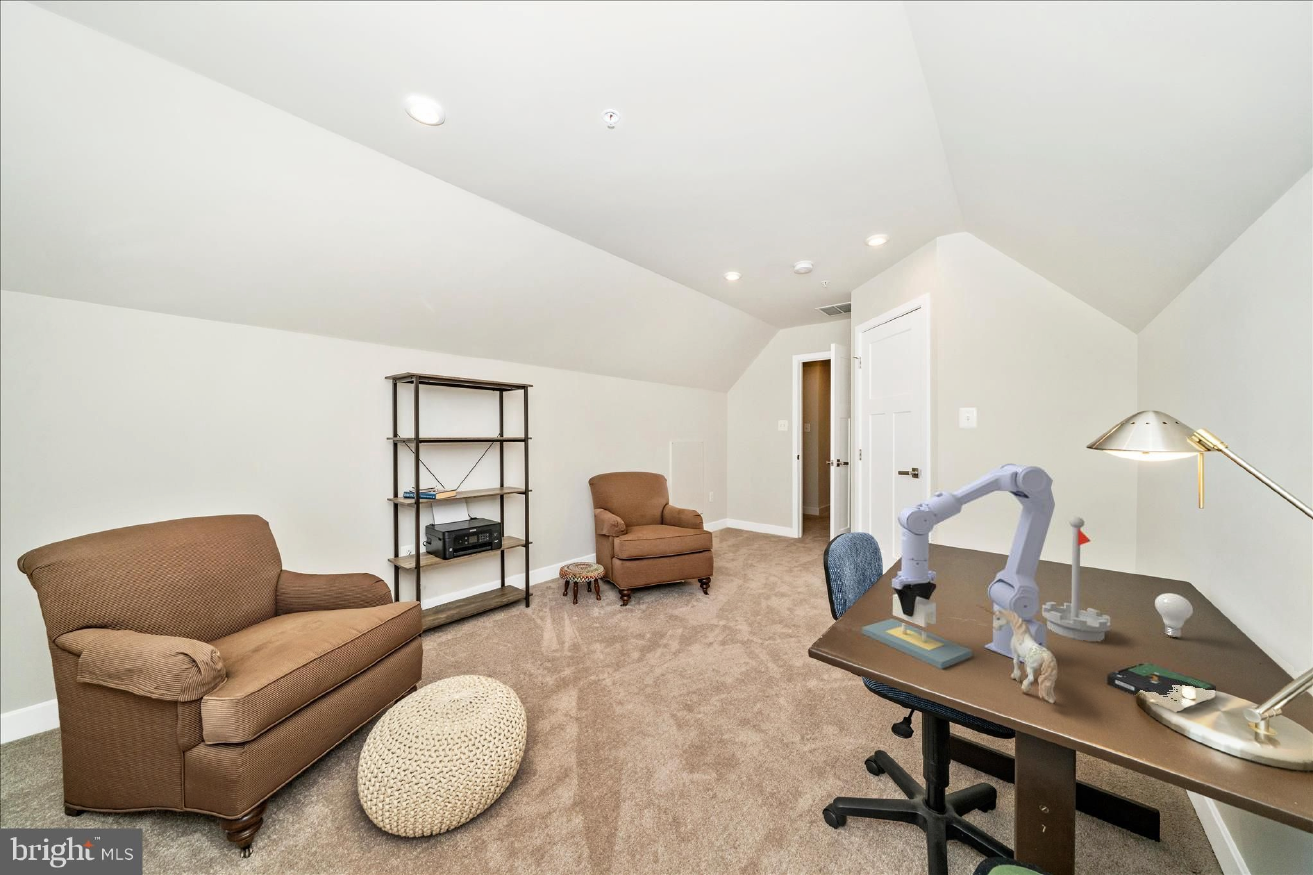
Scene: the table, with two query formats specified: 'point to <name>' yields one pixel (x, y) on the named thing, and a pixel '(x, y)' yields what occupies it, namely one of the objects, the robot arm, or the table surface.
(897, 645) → the pin board
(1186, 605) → the lightbulb
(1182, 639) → the table surface
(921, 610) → the channel block
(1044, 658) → the unicorn figurine
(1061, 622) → the flag stand
